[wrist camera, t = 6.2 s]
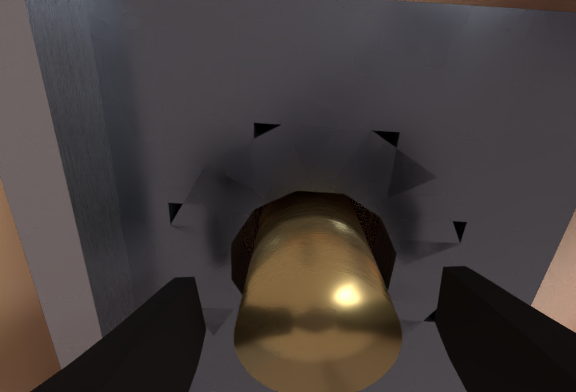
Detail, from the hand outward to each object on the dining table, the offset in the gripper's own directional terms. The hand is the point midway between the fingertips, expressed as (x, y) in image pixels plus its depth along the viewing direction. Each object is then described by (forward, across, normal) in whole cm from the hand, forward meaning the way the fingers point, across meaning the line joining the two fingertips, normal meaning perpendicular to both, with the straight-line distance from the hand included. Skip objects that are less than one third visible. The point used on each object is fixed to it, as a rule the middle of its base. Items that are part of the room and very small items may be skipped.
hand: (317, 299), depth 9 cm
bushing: (+4, 0, 0) cm, 4 cm away
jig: (+4, 0, 0) cm, 4 cm away
